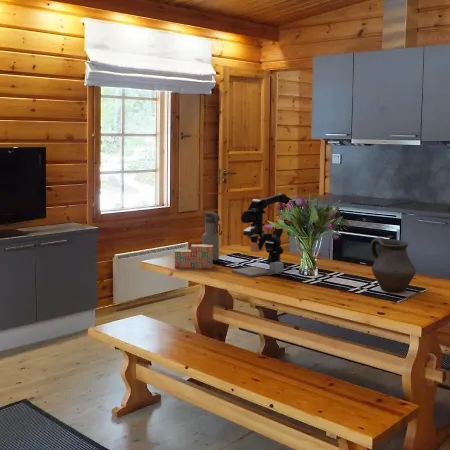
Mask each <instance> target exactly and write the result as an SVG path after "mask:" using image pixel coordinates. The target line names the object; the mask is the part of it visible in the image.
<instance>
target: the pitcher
mask: <svg viewBox="0 0 450 450" xmlns="http://www.w3.org/2000/svg"><path fill="white" fill-rule="evenodd" d="M377 244H379V246H380V252H379V254H378V252H377ZM408 246H409V243H408V242H407V241H404V240H402V239H401V240H400V239H386V238H384V237H379V236H378V237H376V238H373V239H372V240H371V242H370V252H371V255H372V257H373V260H374V262H373V264H372V267H371V272H372V274H373V276H374V278H375V279H376V282H377V283H378V285H379V287H380V289H381V291H384V292H387V293H388V292H389V293H395V294H396V293H402V292H404V291H405V290H406V289H407V288H408V286H409V285H410V283H411V281H413V279H414V277H415V275H416V272H417V271H416V266H414V264H413V263H412V261H411V259H410V257H409V255H408V251H407V248H408Z"/></svg>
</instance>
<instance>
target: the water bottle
mask: <svg viewBox="0 0 450 450" xmlns="http://www.w3.org/2000/svg"><path fill="white" fill-rule="evenodd" d="M204 213H205V217H204V233H203V234H202V237H201V239H202V241H201V242H202V243H201V245H213V260H214V261H218V260H219V259H220V256H219V255H220V253H219V252H220V246H219V245H220V244H219V243H220V241H219V239H220V238H219V237H220V236H219V235H220V234H219V233H220V232H221V224H220V220H221V218H220V215H219V214H218V213H217V212H213V211H205V212H204ZM217 226H218V231H217Z"/></svg>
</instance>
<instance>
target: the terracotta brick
mask: <svg viewBox="0 0 450 450" xmlns="http://www.w3.org/2000/svg"><path fill="white" fill-rule="evenodd" d="M250 252H252V253H262V252H265V244H264V245H263V247H262V249H261V250H259V241H258V240H257V242H251V241H250Z"/></svg>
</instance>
